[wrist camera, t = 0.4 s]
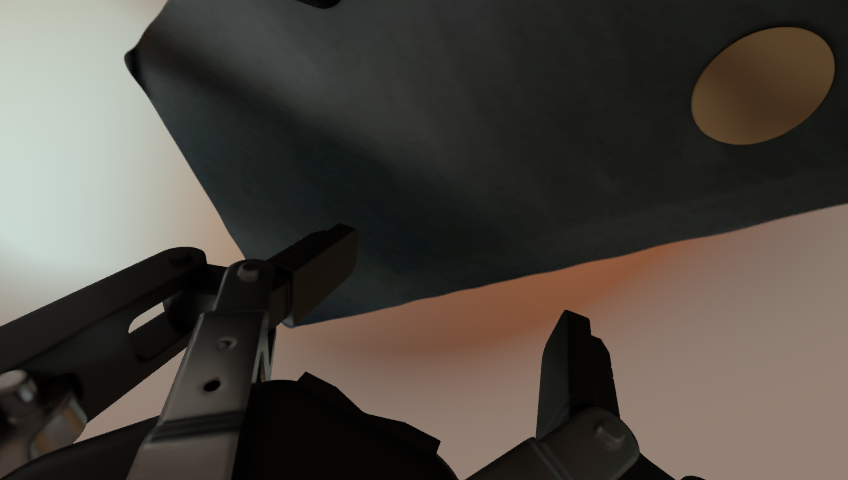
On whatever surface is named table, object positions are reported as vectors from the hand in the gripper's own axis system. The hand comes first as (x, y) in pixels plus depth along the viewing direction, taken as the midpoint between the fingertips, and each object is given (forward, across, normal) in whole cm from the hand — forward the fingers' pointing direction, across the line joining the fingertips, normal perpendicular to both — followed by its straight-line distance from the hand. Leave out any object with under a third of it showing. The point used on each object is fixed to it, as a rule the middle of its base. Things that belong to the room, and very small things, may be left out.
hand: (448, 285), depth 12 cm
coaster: (+29, -17, -10) cm, 35 cm away
